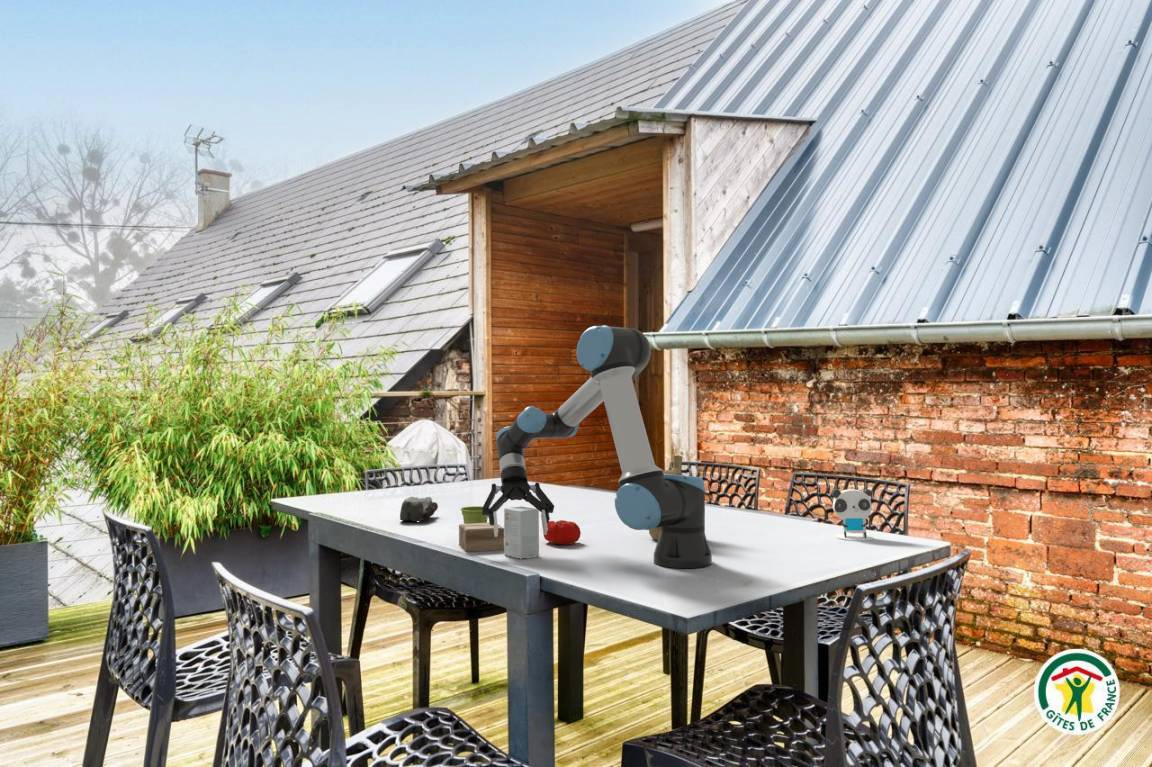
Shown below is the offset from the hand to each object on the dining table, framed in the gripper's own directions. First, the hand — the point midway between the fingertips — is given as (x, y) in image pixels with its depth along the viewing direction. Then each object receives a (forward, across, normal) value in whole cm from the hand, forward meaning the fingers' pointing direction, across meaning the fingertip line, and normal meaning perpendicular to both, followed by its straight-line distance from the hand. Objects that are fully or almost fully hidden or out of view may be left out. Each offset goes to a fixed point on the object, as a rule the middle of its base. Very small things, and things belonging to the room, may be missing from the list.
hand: (521, 533), depth 223 cm
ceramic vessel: (-8, -50, -17) cm, 53 cm away
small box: (+4, 0, -5) cm, 7 cm away
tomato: (-8, -15, -17) cm, 24 cm away
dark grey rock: (-47, +25, -57) cm, 78 cm away
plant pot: (-20, +9, -30) cm, 37 cm away
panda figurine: (0, -104, -9) cm, 104 cm away
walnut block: (-7, +9, -16) cm, 20 cm away
